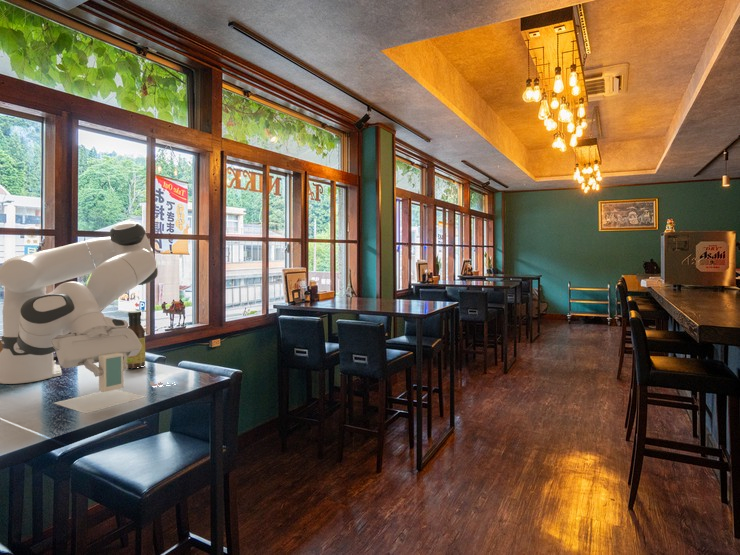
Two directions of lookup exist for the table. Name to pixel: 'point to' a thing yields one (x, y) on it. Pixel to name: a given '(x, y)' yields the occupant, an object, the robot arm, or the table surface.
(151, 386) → the mobile phone
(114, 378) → the card deck
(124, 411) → the table surface
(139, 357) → the sauce bottle
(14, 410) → the table surface
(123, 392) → the bar mat
